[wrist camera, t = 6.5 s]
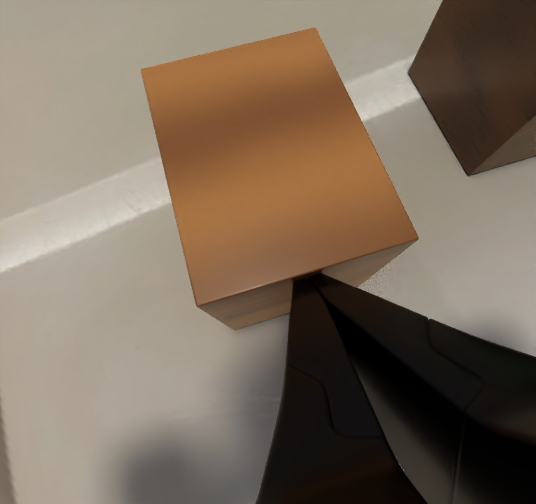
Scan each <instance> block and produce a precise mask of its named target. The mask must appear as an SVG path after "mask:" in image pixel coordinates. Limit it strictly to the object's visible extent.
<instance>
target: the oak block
mask: <svg viewBox="0 0 536 504" xmlns="http://www.w3.org/2000/svg"><path fill="white" fill-rule="evenodd" d="M141 74H142V78H143V82H144V86H145V91H146V95H147V99H148V103H149V108H150V112H151V116H152V120H153V125H154V129H155V133H156V137H157V142H158V146H159V150H160V154H161V159H162V163H163V167H164V171H165V175H166V180H167V184H168V188H169V192H170V197H171V201H172V205H173V209H174V214H175V218H176V222H177V226H178V231H179V235H180V239H181V243H182V248H183V252H184V256H185V260H186V265H187V269H188V273H189V277H190V282H191V286H192V290H193V294H194V298H195V303H196V306H197V307H198V308H200V309H201V310H203V311H205V312H206V313H208V314H209V315H211V316H213V317H214V318H216V319H217V320H219V321H221V322H222V323H224V324H225V325H227V326H228V327H230V328H232V329H233V330H237V329H240V328H243V327H246V326H250V325H253V324H256V323H259V322H262V321H265V320H269V319H272V318H275V317H278V316H281V315H284V314H288V313H290V308H291V297H292V286H293V282H294V281H297V280H300V279H303V278H307V279H308V277H310V276H313V275H316V274H320V273H323V274H325V275H328V276H330V277H332V278H335V279H337V280H340V281H342V282H344V283H347V284H349V285H352V286H354V287H356V288H357V287H358V286H359V285H361V284H362V283H363V282H365V281H366V280H367V279H368V278H370V277H371V276H372V275H373V274H375V273H376V272H377V271H379V270H380V269H381V268H382V267H384V266H385V265H386V264H388V263H389V262H390V261H391V260H393V259H394V258H395V257H396V256H398V255H399V254H400V253H402V252H403V251H404V250H405V249H407V248H408V247H409V246H411V245H412V244H413V243H414V242H416V241H417V240H418V239H419V238H418V235H417V233H416V231H415V229H414V227H413V225H412V223H411V221H410V219H409V217H408V215H407V213H406V211H405V209H404V207H403V205H402V203H401V201H400V199H399V197H398V195H397V192H396V190H395V188H394V186H393V184H392V182H391V180H390V178H389V176H388V174H387V172H386V170H385V168H384V166H383V164H382V162H381V160H380V158H379V156H378V154H377V152H376V150H375V148H374V146H373V144H372V142H371V140H370V137H369V135H368V133H367V131H366V129H365V127H364V125H363V123H362V121H361V119H360V117H359V115H358V113H357V111H356V109H355V107H354V105H353V103H352V101H351V99H350V97H349V95H348V93H347V91H346V89H345V87H344V85H343V82H342V80H341V78H340V76H339V74H338V72H337V70H336V68H335V66H334V64H333V62H332V60H331V58H330V56H329V54H328V52H327V50H326V48H325V46H324V44H323V42H322V40H321V38H320V36H319V34H318V32H317V29H316V28H311V29H307V30H303V31H298V32H294V33H290V34H286V35H282V36H278V37H273V38H269V39H265V40H261V41H257V42H253V43H248V44H244V45H240V46H236V47H232V48H228V49H223V50H219V51H215V52H211V53H207V54H203V55H198V56H194V57H190V58H186V59H182V60H178V61H173V62H169V63H165V64H161V65H157V66H153V67H148V68H144V69H141Z"/></svg>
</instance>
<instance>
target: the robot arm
mask: <svg viewBox="0 0 536 504" xmlns="http://www.w3.org/2000/svg"><path fill="white" fill-rule="evenodd" d="M285 366H286V367H285V373H284V383H283V390H282V398H281V403H280V408H279V413H278V418H277V422H276V426H275V430H274V434H273V438H272V443H271V447H270V451H269V455H268V459H267V463H266V467H265V471H264V475H263V479H262V483H261V487H260V490H259V494H258V497H257V500H256V504H536V357H534V356H531V355H528V354H525V353H522V352H519V351H516V350H513V349H510V348H507V347H504V346H501V345H498V344H496V343H493V342H490V341H487V340H484V339H481V338H479V337H476V336H473V335H470V334H467V333H465V332H462V331H460V330H457V329H455V328H452V327H450V326H447V325H445V324H442V323H440V322H438V321H435V320H433V319H429V320H428V318H427V317H425V316H423V315H421V314H418V313H416V312H413V311H411V310H409V309H406V308H404V307H402V306H399V305H397V304H394V303H392V302H390V301H387V300H385V299H383V298H380V297H378V296H375V295H373V294H371V293H368V292H366V291H363V290H361V289H359V288H356V287H354V286H352V285H349V284H347V283H344V282H342V281H340V280H337V279H335V278H332V277H330V276H328V275H325V274H323V273H320V274H316V275H313V276H310V277H308V279H307V278H303V279H300V280H297V281H294V282H293V286H292V297H291V308H290V319H289V330H288V342H287V353H286V364H285ZM396 458H397V459H396ZM397 460H398V461H397ZM398 462H399V463H400V465H401V466H400V465H399V463H398ZM401 467H402V468H403V470H404V471H403V470H402V468H401ZM404 472H405V473H406V474H405V473H404ZM406 475H407V476H406Z"/></svg>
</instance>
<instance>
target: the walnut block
mask: <svg viewBox="0 0 536 504" xmlns="http://www.w3.org/2000/svg"><path fill="white" fill-rule="evenodd" d="M408 73H409V75H410V77H411V78H412V80H413V82H414V83H415V85H416V87H417V89H418V90H419V92H420V94H421V95H422V97H423V99H424V101H425V102H426V104H427V106H428V107H429V109H430V111H431V112H432V114H433V116H434V118H435V119H436V121H437V123H438V124H439V126H440V128H441V130H442V131H443V133H444V135H445V136H446V138H447V140H448V142H449V143H450V145H451V147H452V148H453V150H454V152H455V154H456V155H457V157H458V159H459V160H460V162H461V164H462V166H463V167H464V169H465V171H466V172H467V174H468V175H472V174H475V173H479V172H482V171H485V170H489V169H492V168H495V167H499V166H502V165H506V164H509V163H512V162H516V161H519V160H523V159H526V158H529V157H533V156H536V0H443V1H442V3H441V5H440V7H439V9H438V11H437V13H436V15H435V17H434V19H433V22H432V24H431V26H430V28H429V30H428V32H427V34H426V36H425V38H424V40H423V42H422V44H421V46H420V48H419V50H418V53H417V55H416V57H415V59H414V61H413V63H412V65H411V67H410V69H409V71H408Z"/></svg>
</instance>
